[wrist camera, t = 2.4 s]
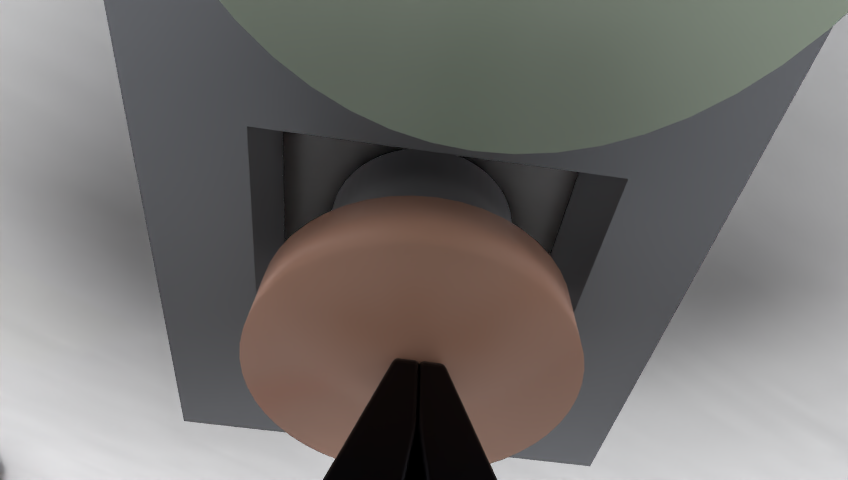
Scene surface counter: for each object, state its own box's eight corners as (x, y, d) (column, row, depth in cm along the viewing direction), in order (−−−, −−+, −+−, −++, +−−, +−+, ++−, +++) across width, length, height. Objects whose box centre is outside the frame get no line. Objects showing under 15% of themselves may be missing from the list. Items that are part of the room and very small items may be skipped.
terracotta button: (581, 133, 11) (637, 271, 8) (515, 331, 15) (535, 487, 11) (295, 92, 11) (226, 218, 8) (295, 304, 14) (248, 456, 11)
